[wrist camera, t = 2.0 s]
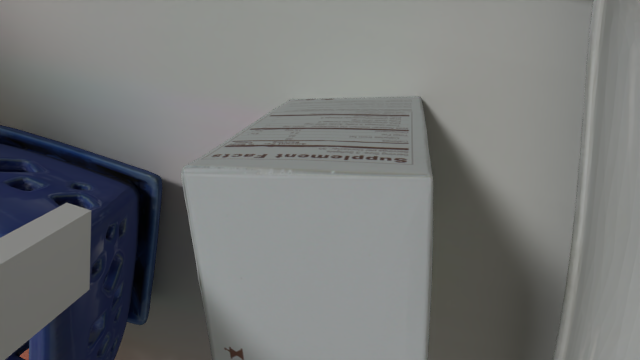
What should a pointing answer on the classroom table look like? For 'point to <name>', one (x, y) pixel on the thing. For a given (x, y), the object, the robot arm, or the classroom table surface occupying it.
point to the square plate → (607, 197)
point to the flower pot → (106, 238)
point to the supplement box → (317, 233)
